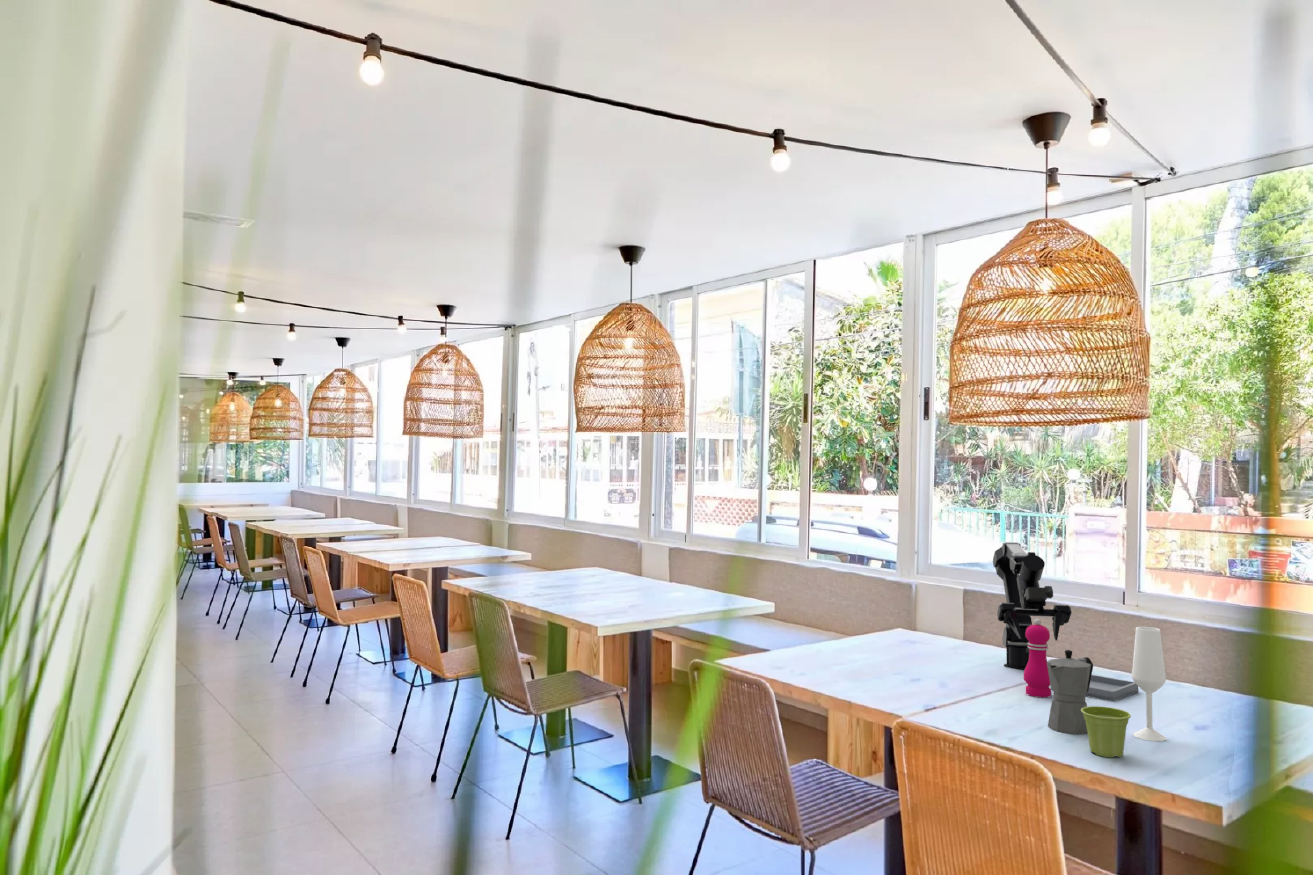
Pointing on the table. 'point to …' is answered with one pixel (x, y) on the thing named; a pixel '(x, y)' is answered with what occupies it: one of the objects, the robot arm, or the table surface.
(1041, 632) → the pepper mill
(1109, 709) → the plant pot
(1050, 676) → the coffeepot
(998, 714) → the table surface
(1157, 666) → the champagne flute
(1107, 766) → the table surface
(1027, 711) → the table surface
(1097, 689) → the tray
